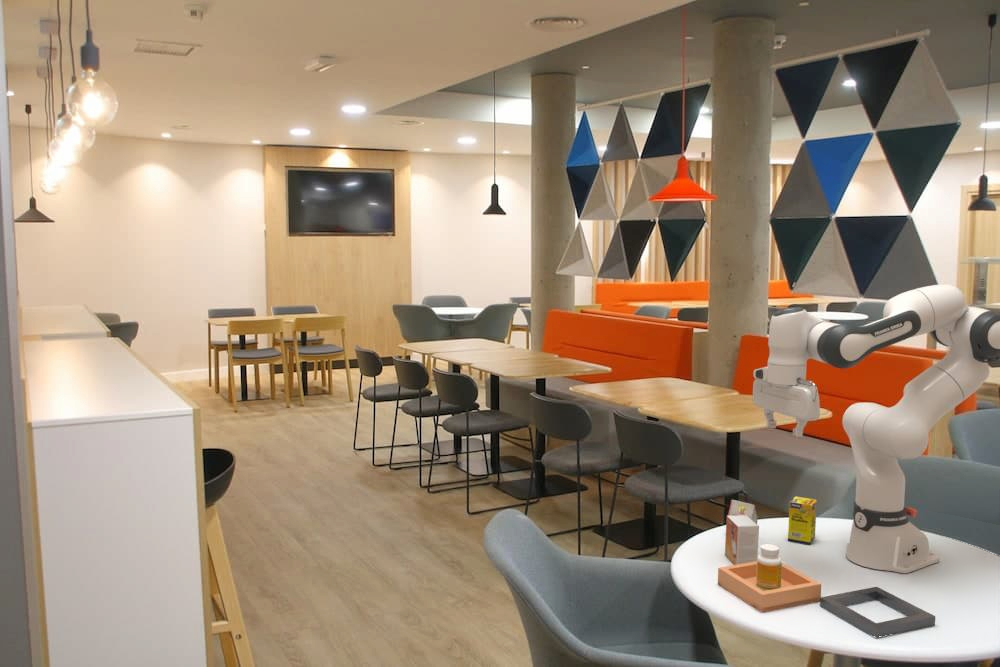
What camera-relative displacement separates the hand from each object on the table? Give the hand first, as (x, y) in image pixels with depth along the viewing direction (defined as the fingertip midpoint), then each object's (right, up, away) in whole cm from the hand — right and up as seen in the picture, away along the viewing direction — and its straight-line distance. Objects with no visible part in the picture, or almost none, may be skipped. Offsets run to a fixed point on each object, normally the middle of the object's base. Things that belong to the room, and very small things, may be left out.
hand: (784, 431), depth 203 cm
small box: (-8, -34, +8) cm, 36 cm away
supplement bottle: (-7, -35, -10) cm, 37 cm away
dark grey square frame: (+12, -37, -22) cm, 45 cm away
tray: (-7, -36, -10) cm, 38 cm away
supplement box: (+12, -32, +22) cm, 41 cm away
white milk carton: (-3, -32, +24) cm, 40 cm away
